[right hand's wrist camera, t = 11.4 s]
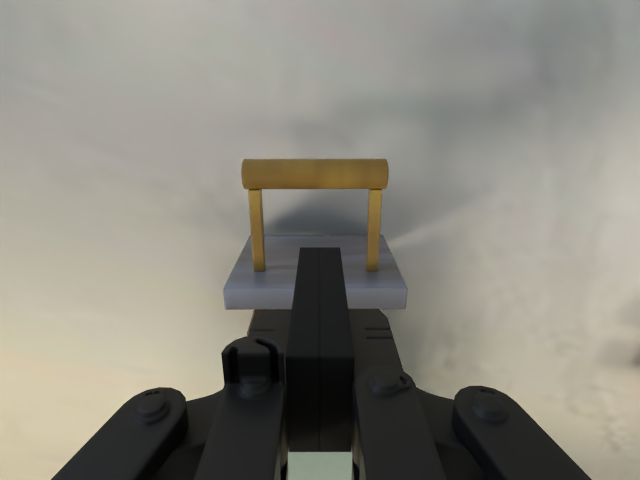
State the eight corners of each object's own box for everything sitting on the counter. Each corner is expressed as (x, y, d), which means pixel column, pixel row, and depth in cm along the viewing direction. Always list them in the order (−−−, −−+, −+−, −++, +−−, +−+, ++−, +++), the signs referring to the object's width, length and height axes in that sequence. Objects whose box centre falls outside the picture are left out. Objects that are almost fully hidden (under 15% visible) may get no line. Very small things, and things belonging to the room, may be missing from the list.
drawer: (243, 145, 25) (210, 167, 17) (388, 145, 25) (418, 166, 17) (264, 458, 34) (249, 561, 26) (370, 458, 34) (385, 560, 26)
